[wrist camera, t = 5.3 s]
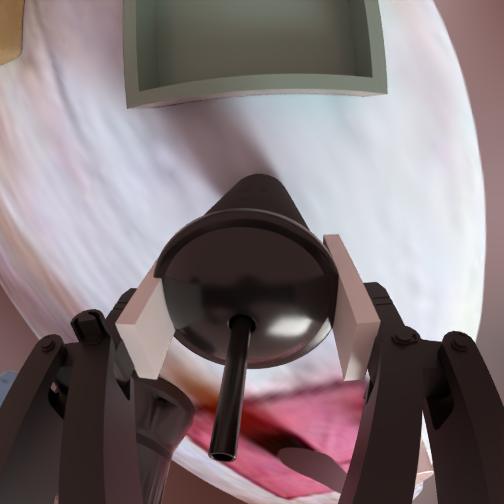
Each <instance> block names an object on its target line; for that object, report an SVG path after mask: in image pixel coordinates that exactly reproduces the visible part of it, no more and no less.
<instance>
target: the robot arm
mask: <svg viewBox="0 0 504 504" xmlns="http://www.w3.org/2000/svg"><path fill="white" fill-rule="evenodd" d="M323 244H324V246H325V247H326V248H327V250H328V251H329V253H330V254H331V256H332V258H333V260H334V262H335V264H336V266H337V269H338V272H339V283H338V294H337V303H336V311H335V319H334V325H333V328H332V329H333V333H334V337H335V341H336V346H337V350H338V355H339V359H340V364H341V368H342V373H343V378H344V381H349V380H358V379H364V378H365V375H366V372H367V369H368V372H369V376H370V381H369V383H368V386H367V389H366V392H365V395H364V397H363V398H364V399H365V403H364V408H363V413H362V418H361V422H360V427H359V431H358V436H357V440H356V444H355V448H354V452H353V455H352V459H351V463H350V466H349V470H348V473H347V477H346V480H345V483H344V487H343V490H342V493H341V496H340V499H339V502H338V504H412V499H413V494H414V488H415V482H416V476H417V469H418V461H419V452H420V441H421V428H422V410H423V414H424V419H425V423H426V428H427V433H428V438H429V443H430V449H431V454H432V460H433V467H434V473H435V481H436V489H437V498H438V504H504V406H503V404H502V401H501V399H500V396H499V394H498V391H497V389H496V387H495V384H494V382H493V380H492V377H491V375H490V373H489V371H488V369H487V366H486V364H485V362H484V360H483V358H482V356H481V354H480V352H479V350H478V348H477V346H476V344H475V342H474V341H473V340H472V338H471V337H470V336H468V335H467V334H465V333H462V332H459V331H452V332H448V333H447V334H446V335H445V336H444V338H443V340H442V342H438V341H429V340H423V339H421V338H420V335H419V334H418V333H417V332H416V330H414V329H412V328H410V327H408V326H405V325H404V323H403V321H402V319H401V317H400V315H399V313H398V311H397V309H396V307H395V306H394V304H393V302H392V300H391V298H390V296H389V295H388V293H387V291H386V289H385V288H384V287H383V286H381V285H380V284H379V283H377V282H370V283H363V282H362V280H361V278H360V276H359V274H358V272H357V270H356V268H355V266H354V264H353V262H352V260H351V258H350V256H349V254H348V252H347V250H346V248H345V246H344V244H343V242H342V240H341V238H340V236H339V234H335V235H324V236H323ZM157 260H158V259H157ZM157 260H156V262H155V263H154V265H153V266H152V268H151V269H150V271H149V272H148V274H147V275H146V277H145V278H144V279H143V281H142V282H141V284H140V285H139V287H138V288H130V289H129V290H128V291H126V292H125V293H124V294H123V295H122V296H121V297H120V299H119V300H118V302H117V304H115V306H114V307H113V310H111V312H110V313H109V315H108V316H107V318H106V319H105V318H104V315H103V313H102V312H101V311H99V310H96V309H91V310H86V311H83V312H81V313H79V314H77V315H76V316H75V317H74V318H73V319H72V321H71V323H70V324H71V326H72V328H73V330H74V332H75V334H76V336H77V338H78V340H79V342H76V343H69V344H64V342H63V340H62V338H61V337H60V336H59V335H56V334H52V335H47V336H45V337H43V338H42V339H41V340H39V342H38V343H37V344H36V345H35V347H34V349H33V350H32V352H31V353H30V355H29V357H28V358H27V360H26V362H25V363H24V365H23V367H22V368H21V370H20V372H19V373H16V372H14V371H6V372H4V373H2V374H1V375H0V504H54V500H55V498H56V499H57V500H59V504H161V501H162V497H163V493H164V488H165V484H166V480H167V476H168V471H169V467H170V462H171V458H172V455H173V452H174V451H175V449H176V448H177V447H178V445H179V444H180V442H181V441H182V440H183V438H184V437H185V435H186V434H187V432H188V431H189V430H190V428H191V426H192V423H193V419H194V415H195V409H194V406H193V404H192V402H191V401H190V400H189V398H188V397H187V396H186V395H185V394H183V393H182V392H181V391H180V390H179V389H177V388H176V387H174V386H173V385H171V384H169V383H167V382H166V381H164V380H162V379H159V378H158V375H159V372H160V370H161V367H162V364H163V362H164V359H165V356H166V354H167V351H168V348H169V346H170V343H171V340H172V338H173V335H174V333H175V329H174V326H173V323H172V321H171V319H170V316H169V313H168V309H167V306H166V301H165V296H164V290H163V284H162V279H161V278H154V277H153V274H154V269H155V266H156V263H157ZM134 368H135V370H136V371H134ZM53 382H54V383H55V385H56V386H57V388H56V390H55V391H53V390H52V389H51V388H50V387H51V385H52V383H53Z"/></svg>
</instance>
